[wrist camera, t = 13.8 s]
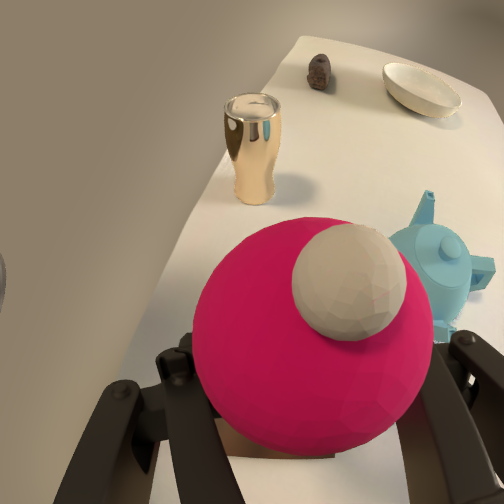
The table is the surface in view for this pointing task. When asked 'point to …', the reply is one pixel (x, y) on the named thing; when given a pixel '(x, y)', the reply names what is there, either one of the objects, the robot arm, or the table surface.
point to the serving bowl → (420, 90)
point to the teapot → (441, 265)
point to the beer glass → (253, 144)
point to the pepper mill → (313, 336)
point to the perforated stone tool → (319, 72)
